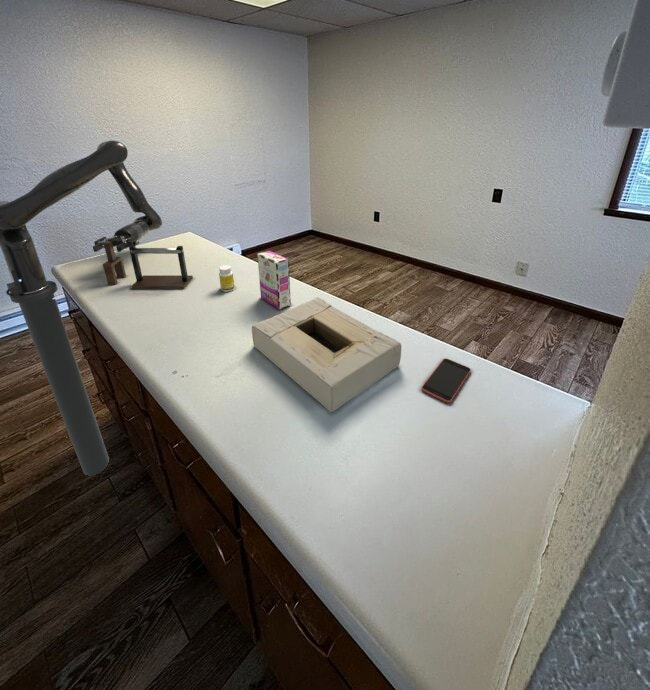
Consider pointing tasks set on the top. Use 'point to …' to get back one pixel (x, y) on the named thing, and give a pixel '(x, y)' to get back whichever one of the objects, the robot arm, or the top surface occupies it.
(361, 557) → the top surface
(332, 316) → the box
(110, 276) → the brown u-shaped bracket
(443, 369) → the smartphone
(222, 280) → the supplement bottle
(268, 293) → the candy bar box
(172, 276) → the rack
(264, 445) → the top surface
